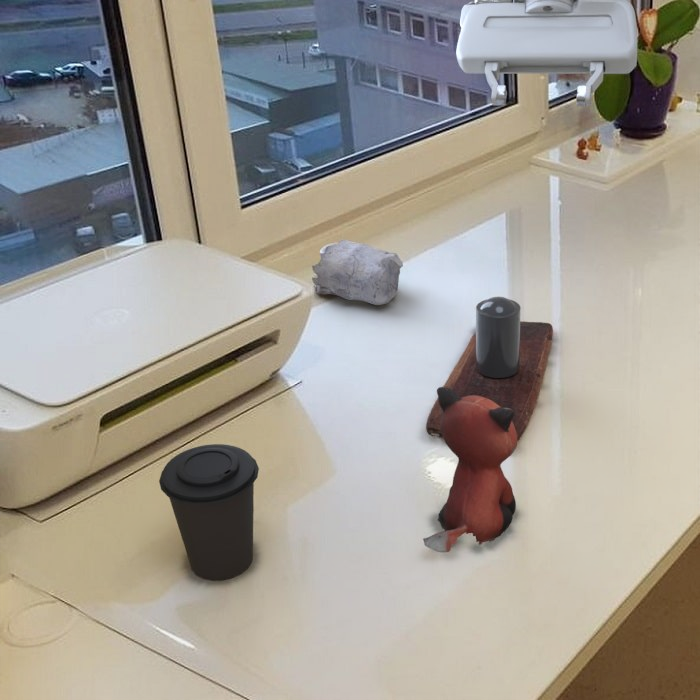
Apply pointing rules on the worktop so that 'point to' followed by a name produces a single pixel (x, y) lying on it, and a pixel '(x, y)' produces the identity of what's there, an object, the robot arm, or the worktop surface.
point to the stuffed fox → (475, 469)
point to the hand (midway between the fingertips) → (540, 103)
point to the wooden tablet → (506, 391)
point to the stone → (357, 272)
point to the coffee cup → (213, 507)
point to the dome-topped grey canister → (498, 337)
